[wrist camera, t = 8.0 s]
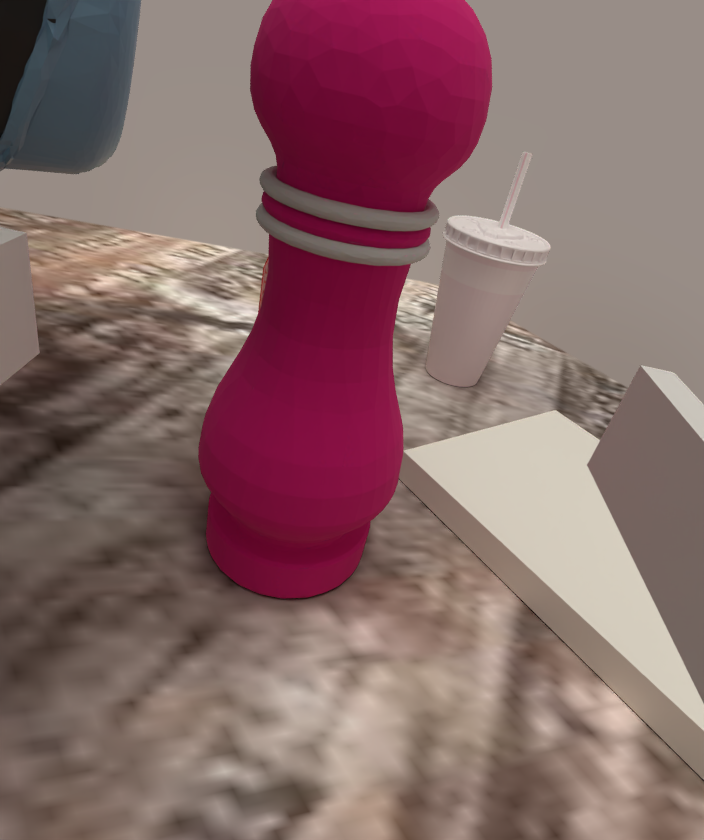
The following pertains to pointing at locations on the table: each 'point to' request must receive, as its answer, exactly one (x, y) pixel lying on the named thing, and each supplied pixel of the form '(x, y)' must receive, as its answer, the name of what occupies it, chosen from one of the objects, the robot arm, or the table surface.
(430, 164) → the pepper mill
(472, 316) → the smoothie
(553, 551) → the cutting board
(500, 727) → the table surface
